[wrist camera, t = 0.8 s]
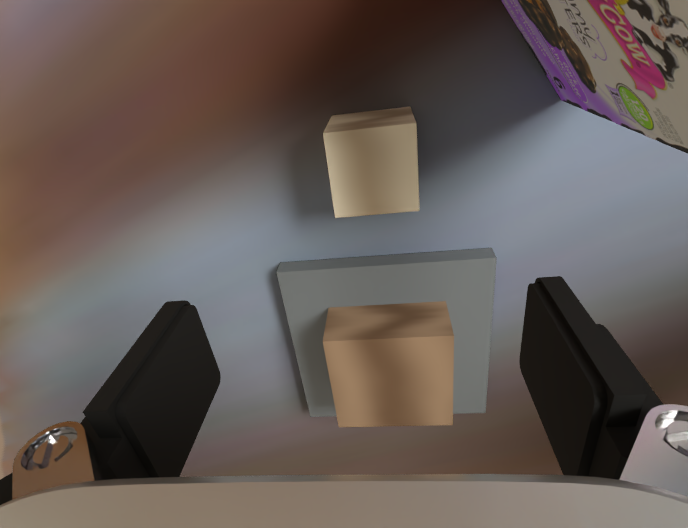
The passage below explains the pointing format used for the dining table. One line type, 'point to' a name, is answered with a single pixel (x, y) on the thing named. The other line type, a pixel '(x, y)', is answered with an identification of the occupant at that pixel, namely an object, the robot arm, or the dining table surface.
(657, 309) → the dining table surface
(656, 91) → the candy box
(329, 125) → the maple cube
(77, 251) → the dining table surface
